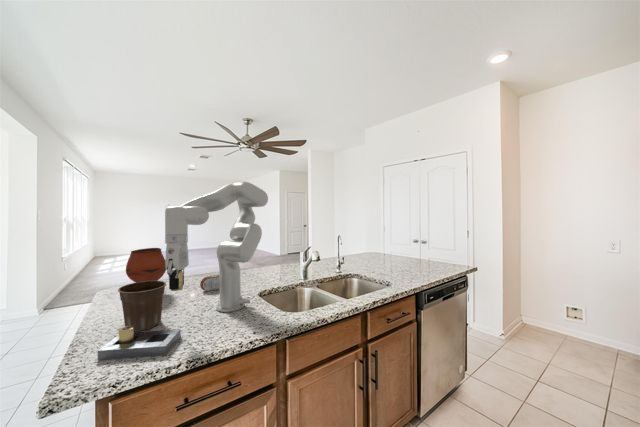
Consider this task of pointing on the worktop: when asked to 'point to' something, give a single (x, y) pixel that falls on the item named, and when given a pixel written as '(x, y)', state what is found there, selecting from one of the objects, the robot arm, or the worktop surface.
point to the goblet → (146, 265)
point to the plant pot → (142, 304)
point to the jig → (139, 344)
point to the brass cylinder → (180, 276)
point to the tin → (210, 283)
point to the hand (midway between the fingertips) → (176, 286)
